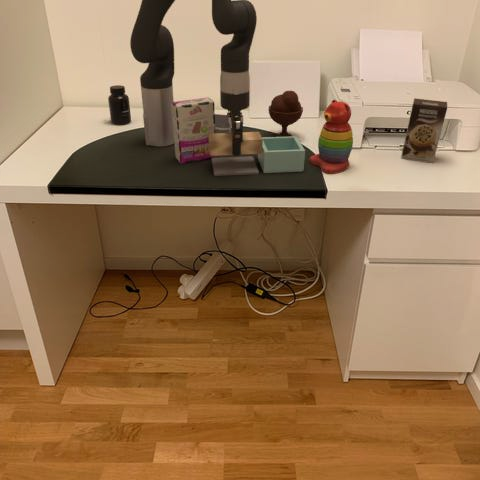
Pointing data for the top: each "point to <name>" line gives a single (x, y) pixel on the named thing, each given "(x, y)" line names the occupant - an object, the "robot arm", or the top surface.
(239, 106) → the robot arm
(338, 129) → the stacking bear
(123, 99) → the supplement bottle
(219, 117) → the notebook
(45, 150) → the top surface
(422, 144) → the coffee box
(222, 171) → the mat
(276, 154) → the dish
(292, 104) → the ice cream bowl
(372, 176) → the top surface
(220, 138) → the wooden block
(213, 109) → the candy bar box
